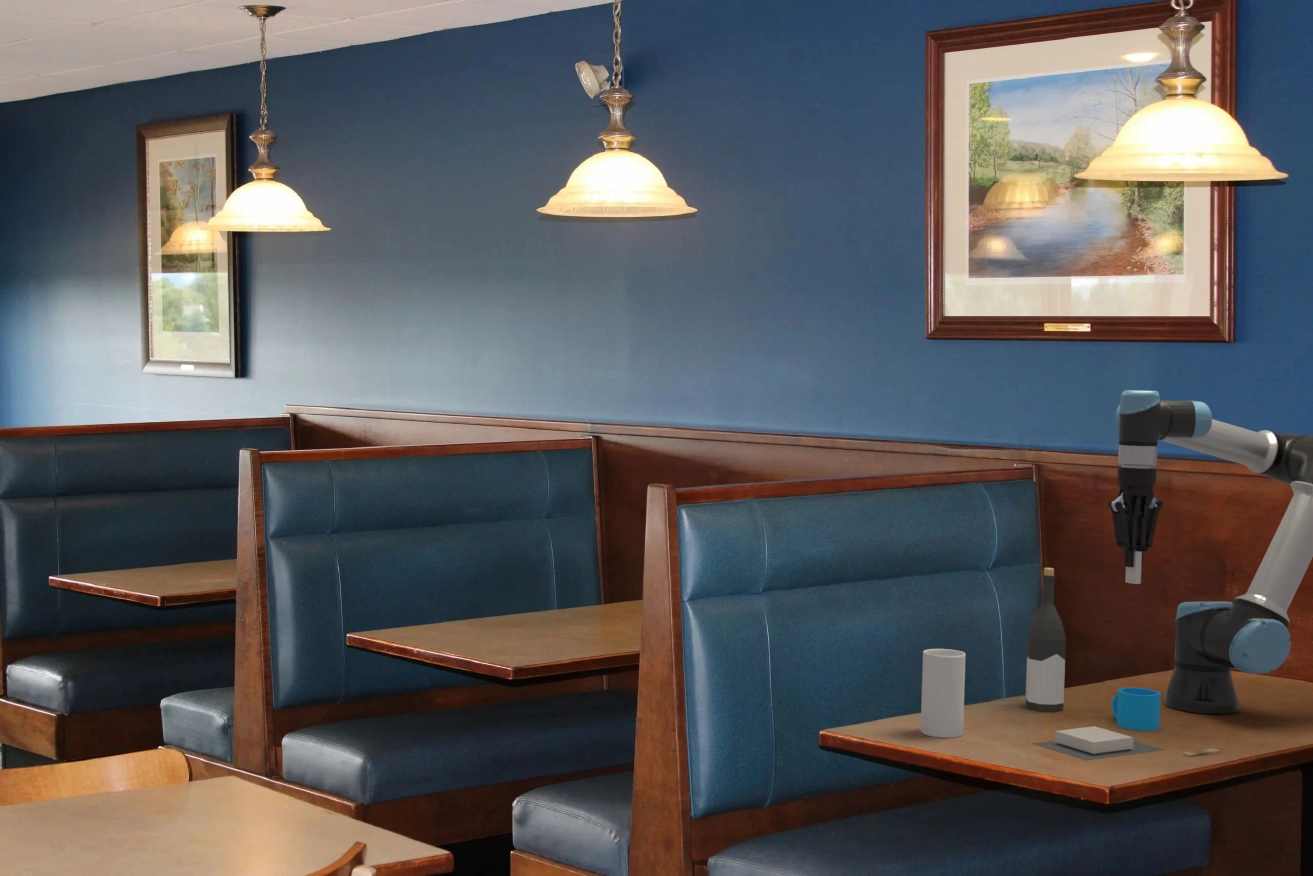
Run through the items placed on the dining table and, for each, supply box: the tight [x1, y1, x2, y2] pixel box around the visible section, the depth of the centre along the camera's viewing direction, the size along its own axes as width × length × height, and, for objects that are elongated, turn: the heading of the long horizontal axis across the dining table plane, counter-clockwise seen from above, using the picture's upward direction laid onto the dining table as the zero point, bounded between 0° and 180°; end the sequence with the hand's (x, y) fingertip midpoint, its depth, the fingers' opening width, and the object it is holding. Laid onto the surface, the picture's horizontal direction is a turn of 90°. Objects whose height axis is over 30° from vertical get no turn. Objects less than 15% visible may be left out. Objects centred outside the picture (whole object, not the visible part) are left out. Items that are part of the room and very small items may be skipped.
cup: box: [920, 648, 966, 739], centre depth 308 cm, size 8×8×16 cm
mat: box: [1032, 740, 1165, 761], centre depth 295 cm, size 20×14×1 cm
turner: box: [1182, 748, 1222, 758], centre depth 289 cm, size 16×6×2 cm, turn 118°
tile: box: [1054, 725, 1134, 755], centre depth 294 cm, size 2×10×10 cm
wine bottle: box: [1025, 567, 1067, 713], centre depth 334 cm, size 8×8×30 cm
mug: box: [1111, 687, 1162, 731], centre depth 315 cm, size 12×8×8 cm
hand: (1133, 583), depth 316 cm, fingers closed
